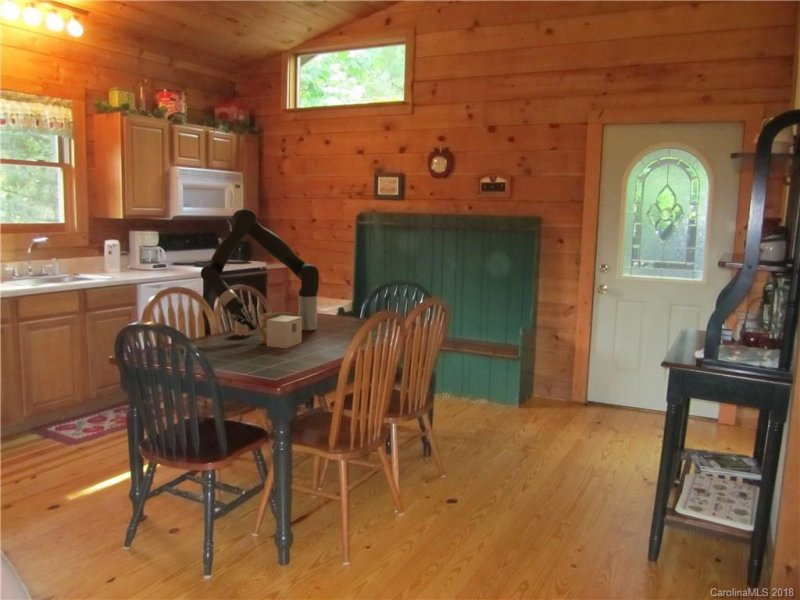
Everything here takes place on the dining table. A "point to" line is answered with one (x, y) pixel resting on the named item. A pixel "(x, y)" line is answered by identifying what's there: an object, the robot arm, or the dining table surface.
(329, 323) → the dining table surface
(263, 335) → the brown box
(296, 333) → the cardboard box
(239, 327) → the teacup with lid
